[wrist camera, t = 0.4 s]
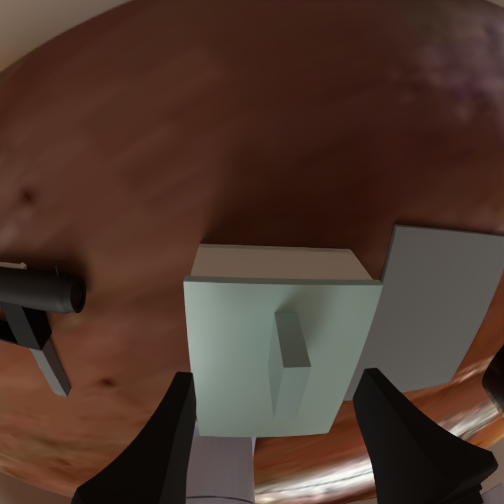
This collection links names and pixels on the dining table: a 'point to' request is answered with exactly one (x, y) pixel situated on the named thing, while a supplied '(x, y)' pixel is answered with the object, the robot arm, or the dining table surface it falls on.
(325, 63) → the dining table surface
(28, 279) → the black toy gun
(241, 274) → the tub
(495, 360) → the jar
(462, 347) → the mat
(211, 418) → the lid
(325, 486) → the dining table surface
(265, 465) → the dining table surface
